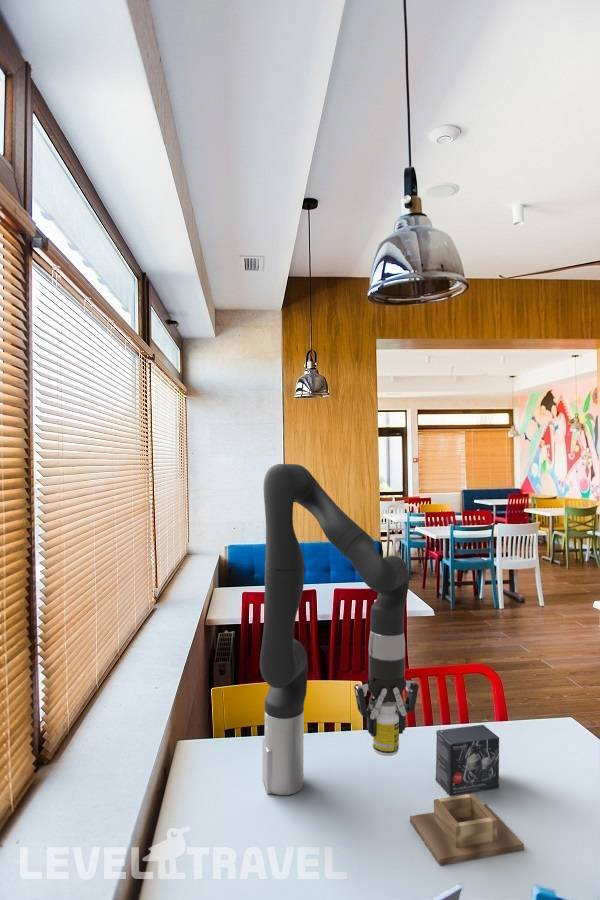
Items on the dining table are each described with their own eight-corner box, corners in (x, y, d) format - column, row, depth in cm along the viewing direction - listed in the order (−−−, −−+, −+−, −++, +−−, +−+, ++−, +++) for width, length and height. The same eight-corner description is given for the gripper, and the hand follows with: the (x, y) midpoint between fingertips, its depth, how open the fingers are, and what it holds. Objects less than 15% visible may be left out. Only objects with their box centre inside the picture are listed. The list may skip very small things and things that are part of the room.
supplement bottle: (398, 758, 113) (398, 710, 113) (371, 755, 114) (372, 707, 114) (399, 745, 118) (399, 699, 118) (373, 742, 119) (374, 696, 119)
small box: (450, 797, 125) (449, 744, 125) (434, 781, 131) (434, 730, 132) (500, 788, 128) (500, 736, 129) (483, 772, 135) (482, 723, 135)
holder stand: (439, 865, 104) (439, 837, 104) (409, 821, 116) (409, 796, 116) (523, 850, 108) (523, 822, 108) (486, 809, 120) (486, 785, 121)
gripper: (360, 661, 111) (359, 746, 111) (426, 656, 114) (425, 738, 114) (348, 648, 118) (347, 728, 118) (410, 644, 122) (410, 722, 121)
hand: (386, 733), depth 116 cm, fingers closed on supplement bottle, 5 cm apart
